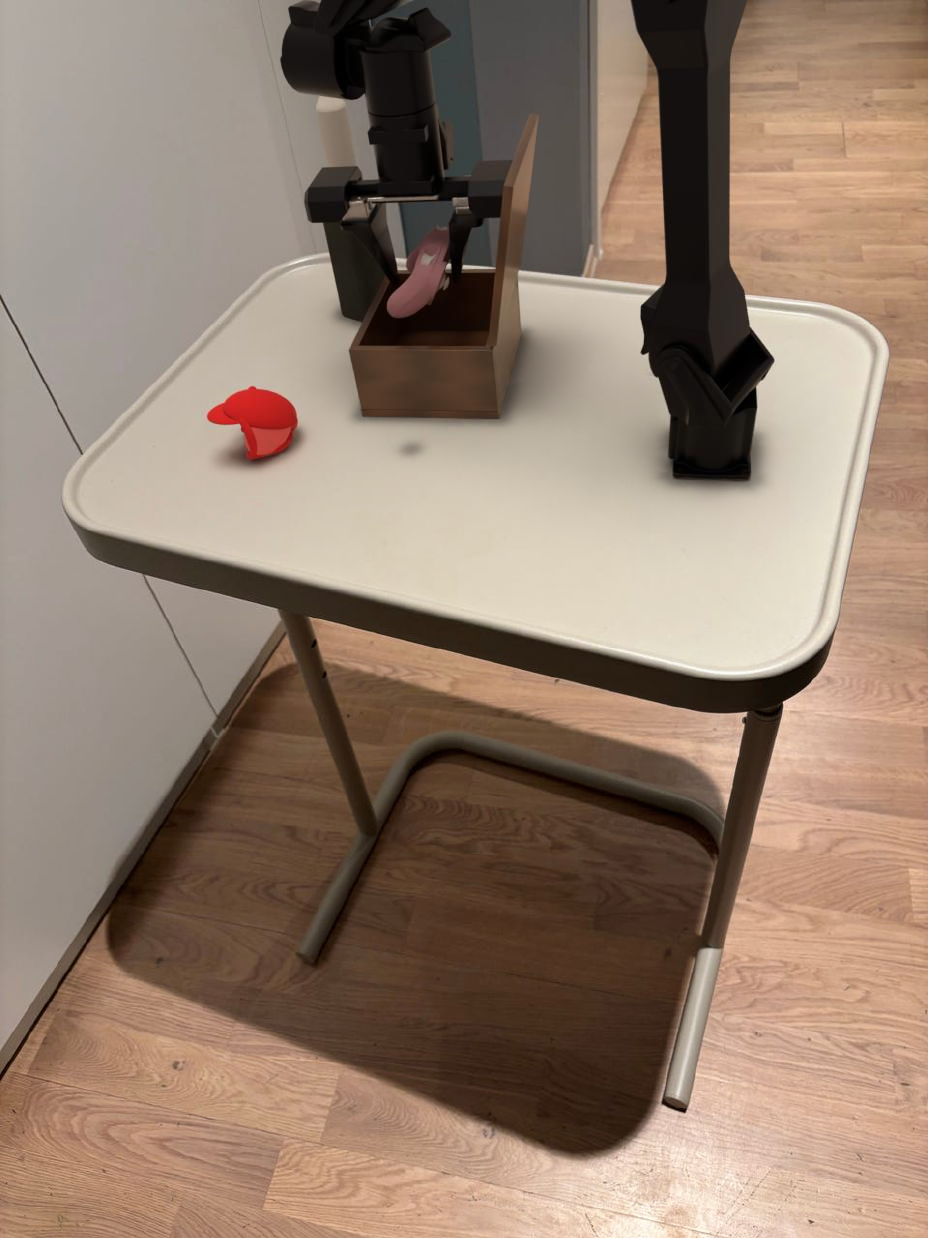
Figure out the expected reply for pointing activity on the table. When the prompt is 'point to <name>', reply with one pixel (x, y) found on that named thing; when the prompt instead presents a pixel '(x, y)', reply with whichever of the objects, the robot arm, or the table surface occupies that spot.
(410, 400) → the chest
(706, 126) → the robot arm
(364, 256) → the candle
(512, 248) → the lid
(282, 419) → the cap
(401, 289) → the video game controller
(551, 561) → the table surface
